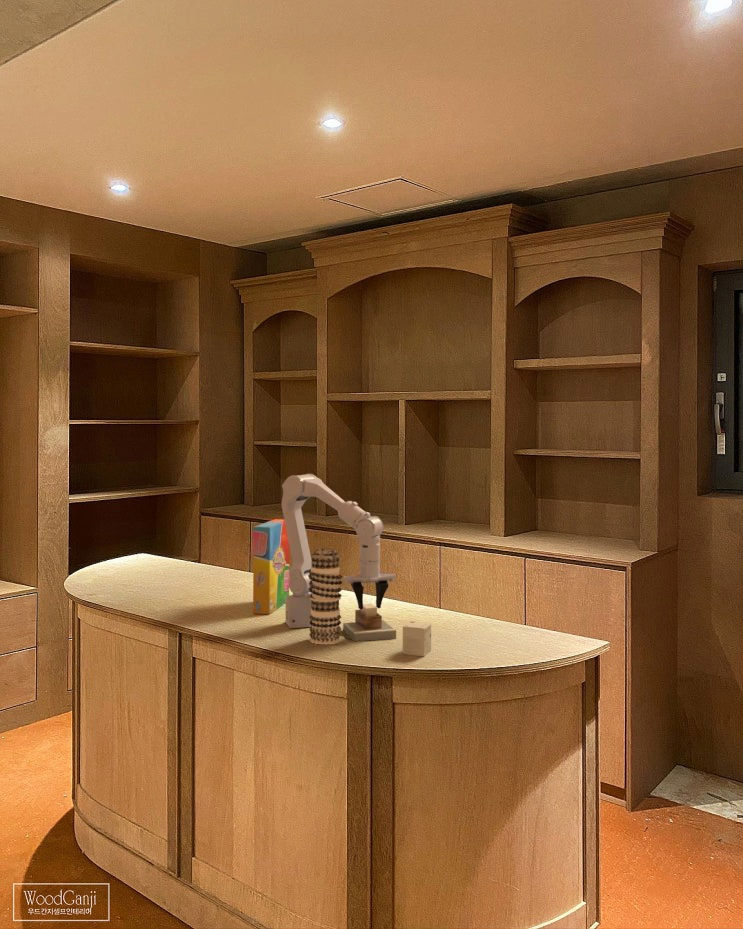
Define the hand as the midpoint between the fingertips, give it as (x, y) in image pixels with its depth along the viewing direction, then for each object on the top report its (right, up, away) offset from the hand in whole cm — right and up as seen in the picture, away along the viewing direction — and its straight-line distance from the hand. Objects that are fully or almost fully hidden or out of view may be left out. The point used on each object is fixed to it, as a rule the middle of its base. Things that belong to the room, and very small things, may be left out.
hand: (369, 608), depth 226 cm
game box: (-31, -6, +32) cm, 45 cm away
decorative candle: (-12, -8, -7) cm, 16 cm away
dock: (0, -7, +1) cm, 7 cm away
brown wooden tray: (0, -5, +3) cm, 6 cm away
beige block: (0, -3, +3) cm, 4 cm away
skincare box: (+12, -9, -17) cm, 23 cm away
